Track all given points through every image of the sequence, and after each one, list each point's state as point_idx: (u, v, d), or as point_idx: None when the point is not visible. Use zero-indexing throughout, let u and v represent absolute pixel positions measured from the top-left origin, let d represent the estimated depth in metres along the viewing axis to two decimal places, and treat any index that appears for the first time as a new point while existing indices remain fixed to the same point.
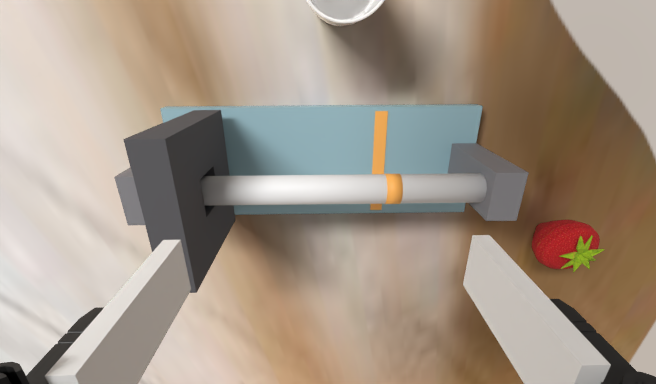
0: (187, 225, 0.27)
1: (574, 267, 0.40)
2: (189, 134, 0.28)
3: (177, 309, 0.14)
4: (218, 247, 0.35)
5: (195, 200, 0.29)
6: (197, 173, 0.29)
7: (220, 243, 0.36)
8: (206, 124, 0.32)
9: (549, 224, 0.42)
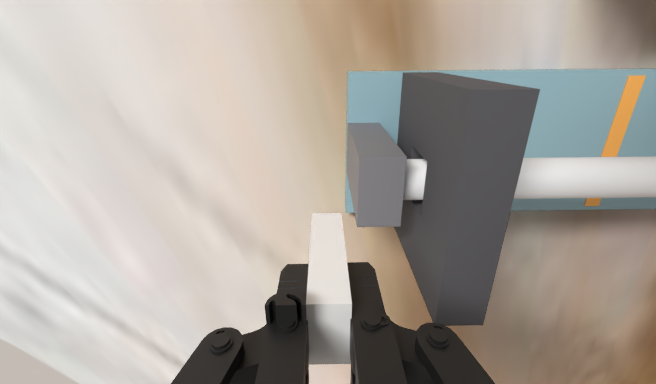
0: None
1: None
2: None
3: None
4: None
5: None
6: None
7: None
8: None
9: None
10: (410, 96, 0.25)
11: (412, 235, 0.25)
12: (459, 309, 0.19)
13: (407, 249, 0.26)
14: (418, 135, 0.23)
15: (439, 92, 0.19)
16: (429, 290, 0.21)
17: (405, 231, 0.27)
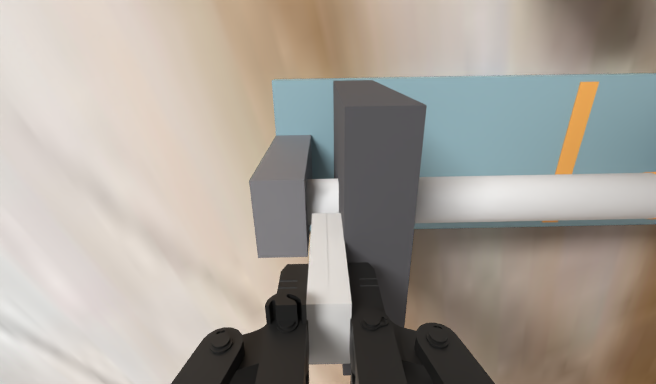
0: None
1: None
2: None
3: None
4: None
5: None
6: None
7: None
8: None
9: None
10: None
11: None
12: None
13: None
14: None
15: None
16: None
17: None
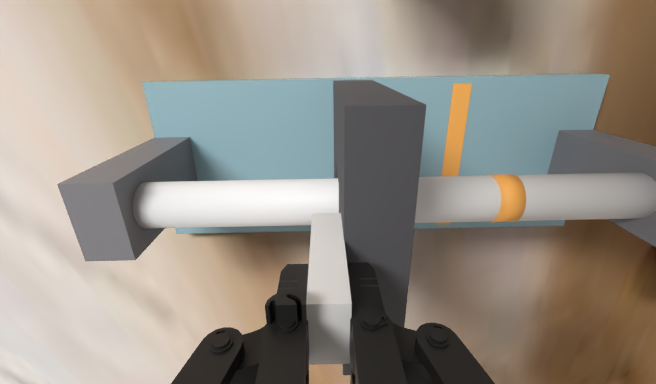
0: None
1: None
2: None
3: None
4: None
5: None
6: None
7: None
8: None
9: None
10: None
11: None
12: None
13: None
14: (336, 152, 0.20)
15: None
16: None
17: None
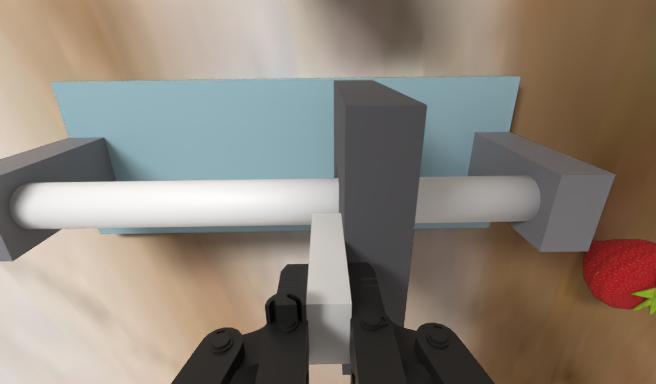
0: None
1: (651, 309, 0.28)
2: None
3: None
4: None
5: None
6: None
7: None
8: None
9: (609, 245, 0.30)
10: None
11: None
12: None
13: None
14: None
15: (339, 105, 0.16)
16: None
17: None
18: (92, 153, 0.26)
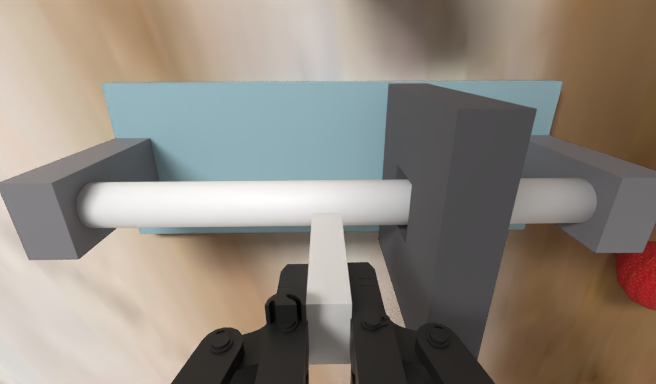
0: None
1: None
2: None
3: None
4: None
5: None
6: None
7: None
8: None
9: None
10: (395, 110, 0.23)
11: (397, 262, 0.22)
12: None
13: (393, 276, 0.24)
14: (402, 153, 0.21)
15: (423, 108, 0.16)
16: (414, 329, 0.18)
17: (391, 256, 0.25)
18: (141, 153, 0.27)
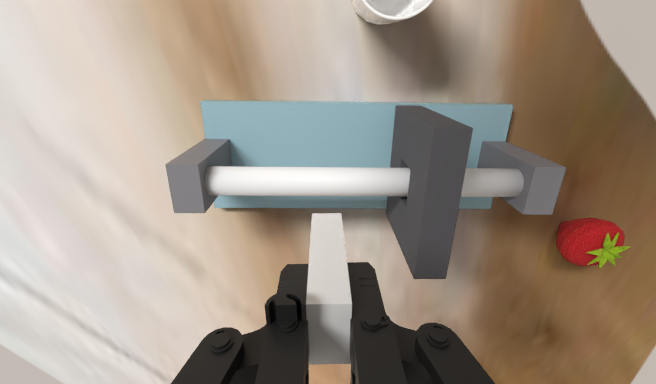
0: None
1: (600, 264, 0.41)
2: None
3: None
4: None
5: None
6: None
7: None
8: None
9: (574, 222, 0.43)
10: (400, 123, 0.35)
11: (400, 222, 0.35)
12: (430, 267, 0.29)
13: (397, 233, 0.36)
14: (405, 151, 0.33)
15: (417, 125, 0.29)
16: (411, 256, 0.31)
17: (396, 220, 0.37)
18: (225, 149, 0.39)
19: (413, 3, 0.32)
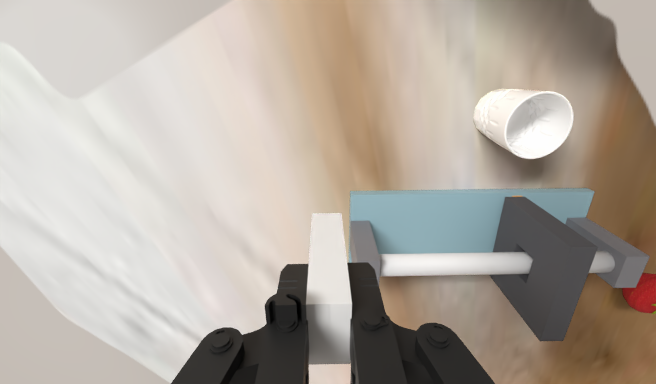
0: None
1: None
2: None
3: None
4: None
5: None
6: None
7: None
8: None
9: None
10: (514, 215, 0.46)
11: (516, 291, 0.46)
12: (553, 333, 0.41)
13: (510, 297, 0.47)
14: (523, 241, 0.44)
15: (544, 232, 0.40)
16: (535, 323, 0.42)
17: (507, 286, 0.48)
18: None
19: (531, 132, 0.43)
